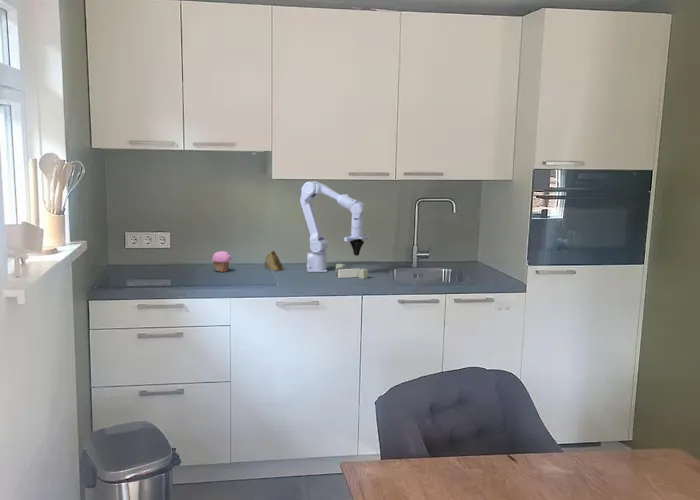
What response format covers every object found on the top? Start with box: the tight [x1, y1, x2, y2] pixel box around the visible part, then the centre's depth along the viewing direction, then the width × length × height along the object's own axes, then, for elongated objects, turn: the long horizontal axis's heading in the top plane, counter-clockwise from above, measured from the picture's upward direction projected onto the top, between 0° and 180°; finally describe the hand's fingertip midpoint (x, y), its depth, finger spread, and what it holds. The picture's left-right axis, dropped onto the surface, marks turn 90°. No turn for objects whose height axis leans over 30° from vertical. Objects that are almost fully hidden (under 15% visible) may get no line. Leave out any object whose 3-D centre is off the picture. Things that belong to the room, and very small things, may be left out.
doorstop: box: [335, 266, 352, 277], centre depth 312 cm, size 5×5×4 cm
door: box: [338, 267, 362, 279], centre depth 309 cm, size 1×11×4 cm, turn 114°
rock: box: [264, 250, 285, 272], centre depth 326 cm, size 11×9×10 cm
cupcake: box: [211, 250, 232, 273], centre depth 315 cm, size 9×9×10 cm
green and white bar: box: [335, 263, 368, 279], centre depth 315 cm, size 2×20×4 cm, turn 42°
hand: (356, 255), depth 317 cm, fingers closed
